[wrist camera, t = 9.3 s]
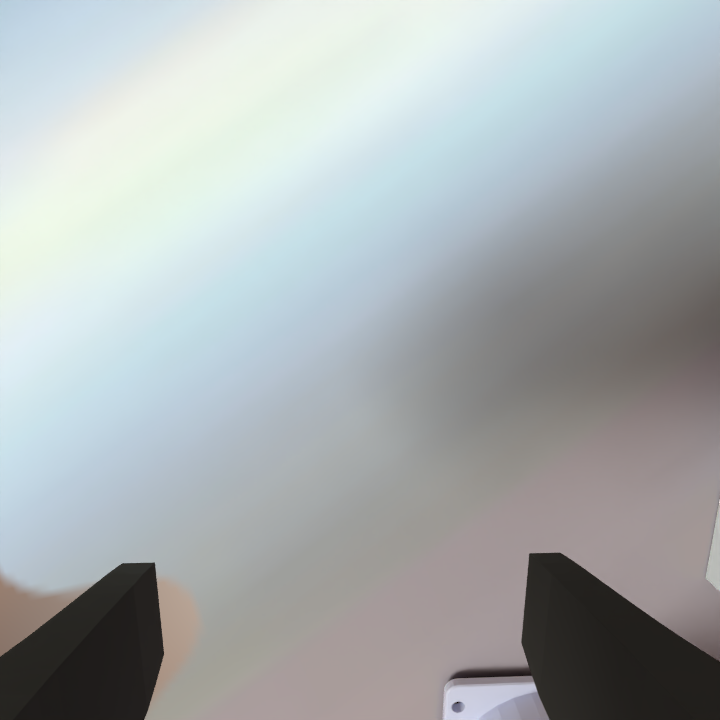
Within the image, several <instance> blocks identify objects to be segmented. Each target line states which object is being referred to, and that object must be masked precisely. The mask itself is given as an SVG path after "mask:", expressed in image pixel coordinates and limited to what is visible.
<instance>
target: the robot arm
mask: <svg viewBox="0 0 720 720" xmlns="http://www.w3.org/2000/svg"><path fill="white" fill-rule="evenodd" d="M521 643H522V646H523V649H524V652H525V655H526V658H527V662H528V665H529V668H530V671H531V674H532V676H512V677H484V678H457V679H452V680H451V681H449V682H448V683H447V684H446V685H445V688H444V702H443V720H720V662H719V661H717V660H716V659H714V658H713V657H711V656H710V655H708V654H707V653H705V652H703V651H702V650H700V649H699V648H697V647H696V646H694V645H692V644H691V643H689V642H688V641H686V640H685V639H683V638H682V637H680V636H679V635H677V634H676V633H674V632H673V631H671V630H670V629H668V628H667V627H665V626H664V625H662V624H661V623H659V622H658V621H656V620H655V619H654V618H652V617H651V616H649V615H648V614H646V613H645V612H643V611H642V610H641V609H639V608H638V607H636V606H635V605H634V604H632V603H631V602H629V601H628V600H627V599H625V598H624V597H622V596H621V595H620V594H618V593H617V592H615V591H614V590H613V589H611V588H610V587H609V586H607V585H606V584H604V583H603V582H602V581H600V580H599V579H598V578H596V577H595V576H593V575H592V574H591V573H589V572H588V571H586V570H585V569H584V568H582V567H581V566H579V565H578V564H577V563H575V562H574V561H572V560H571V559H569V558H568V557H566V556H565V555H563V554H561V553H531V554H529V565H528V576H527V587H526V598H525V609H524V620H523V631H522V642H521ZM163 650H164V649H163V639H162V629H161V620H160V609H159V599H158V589H157V579H156V570H155V563H123V564H121V565H119V566H118V567H117V568H115V569H114V570H112V571H111V572H110V573H108V574H107V575H106V576H105V577H103V578H102V579H101V580H99V581H98V582H97V583H96V584H94V585H93V586H92V587H91V588H89V589H88V590H87V591H86V592H84V593H83V594H82V595H81V596H79V597H78V598H77V599H75V600H74V601H73V602H72V603H70V604H69V605H68V606H67V607H66V608H64V609H63V610H62V611H60V612H59V613H58V614H56V615H55V616H54V617H53V618H51V619H50V620H49V621H47V622H46V623H45V624H44V625H42V626H41V627H40V628H38V629H37V630H36V631H35V632H33V633H32V634H31V635H29V636H28V637H27V638H25V639H24V640H23V641H21V642H20V643H19V644H17V645H16V646H14V647H13V648H12V649H10V650H9V651H8V652H6V653H5V654H4V655H2V656H1V657H0V720H144V719H145V716H146V714H147V711H148V708H149V704H150V701H151V698H152V695H153V691H154V688H155V685H156V681H157V677H158V674H159V670H160V666H161V663H162V659H163V656H164V651H163ZM455 702H460V703H457V704H454V703H455Z"/></svg>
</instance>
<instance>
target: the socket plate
mask: <svg viewBox="0 0 720 720" xmlns="http://www.w3.org/2000/svg"><path fill="white" fill-rule="evenodd" d="M706 579H707V580H708V581H709V582H710V583H711V584H712V585H713V586H714V587H715V588H716V589H717V590H718V591H720V501H719V507H718V512H717V518H716V523H715V529H714V534H713V540H712V545H711V551H710V556H709V562H708V567H707V573H706Z"/></svg>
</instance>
